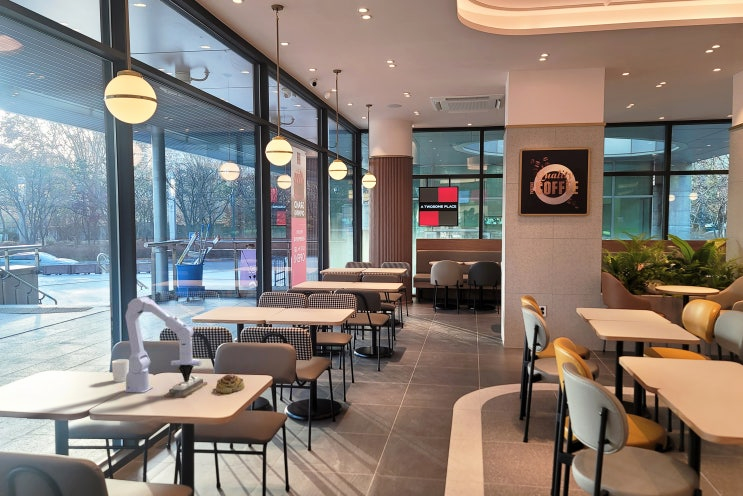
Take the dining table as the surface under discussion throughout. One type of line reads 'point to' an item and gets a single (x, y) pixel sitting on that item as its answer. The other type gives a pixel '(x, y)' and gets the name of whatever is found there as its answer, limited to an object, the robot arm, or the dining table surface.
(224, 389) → the pastry
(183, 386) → the tile one
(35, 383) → the dining table surface
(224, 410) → the dining table surface
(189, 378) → the tile three
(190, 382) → the tile two
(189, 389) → the board
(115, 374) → the white cup
